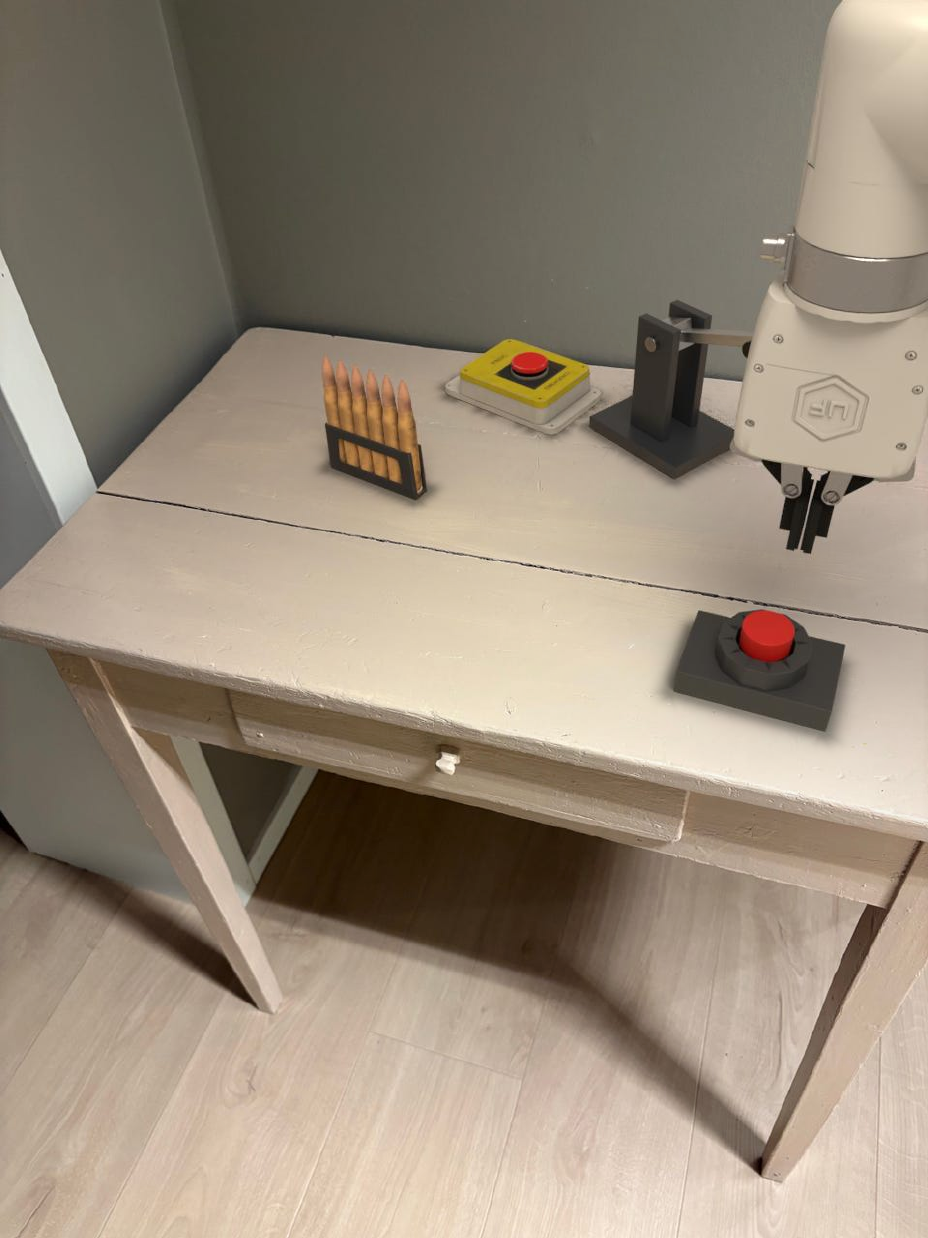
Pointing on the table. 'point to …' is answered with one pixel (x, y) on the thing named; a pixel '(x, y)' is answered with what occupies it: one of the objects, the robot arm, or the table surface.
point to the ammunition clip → (372, 431)
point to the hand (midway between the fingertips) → (801, 538)
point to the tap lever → (709, 335)
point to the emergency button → (527, 386)
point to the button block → (760, 672)
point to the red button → (766, 636)
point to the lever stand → (666, 400)
